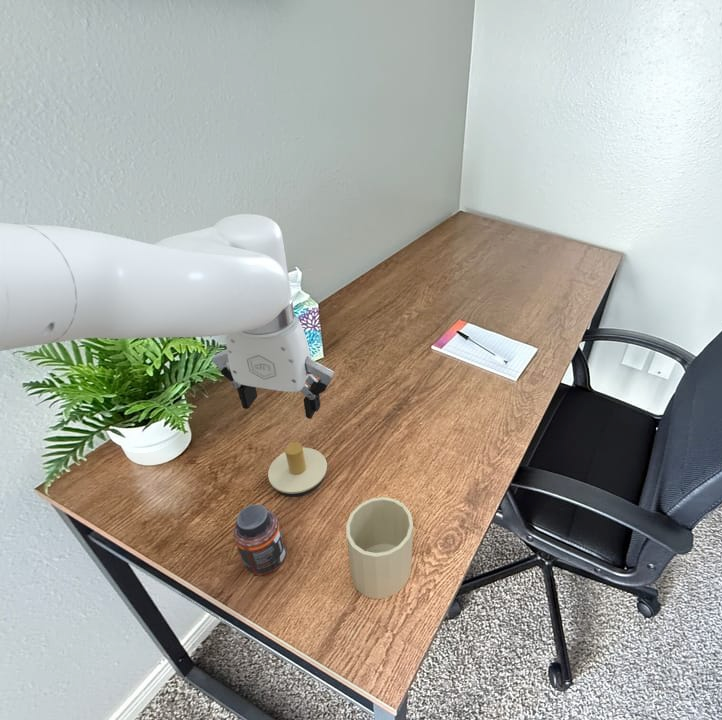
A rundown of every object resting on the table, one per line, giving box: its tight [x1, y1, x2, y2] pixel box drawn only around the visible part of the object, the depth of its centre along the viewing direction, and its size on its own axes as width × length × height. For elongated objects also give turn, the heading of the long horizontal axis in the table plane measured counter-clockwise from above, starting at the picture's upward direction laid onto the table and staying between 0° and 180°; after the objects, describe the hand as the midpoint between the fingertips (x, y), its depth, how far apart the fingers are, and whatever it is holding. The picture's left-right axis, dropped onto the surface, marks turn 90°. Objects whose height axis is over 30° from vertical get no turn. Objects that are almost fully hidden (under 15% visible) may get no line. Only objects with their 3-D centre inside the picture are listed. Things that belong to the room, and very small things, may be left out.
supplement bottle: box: [232, 503, 287, 577], centre depth 68 cm, size 6×6×11 cm
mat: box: [273, 475, 326, 498], centre depth 83 cm, size 9×9×1 cm
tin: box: [345, 496, 414, 600], centre depth 68 cm, size 9×9×12 cm
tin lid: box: [267, 441, 328, 494], centre depth 81 cm, size 10×10×7 cm
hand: (281, 407), depth 71 cm, fingers open, 9 cm apart
